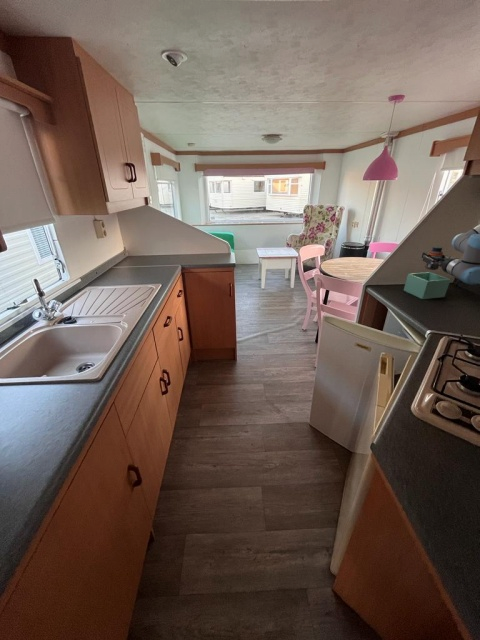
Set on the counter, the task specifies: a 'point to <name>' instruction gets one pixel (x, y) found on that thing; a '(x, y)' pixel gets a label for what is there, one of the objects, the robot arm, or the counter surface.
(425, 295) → the waste bin
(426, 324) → the counter surface
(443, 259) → the robot arm
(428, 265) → the supplement bottle
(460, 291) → the counter surface
